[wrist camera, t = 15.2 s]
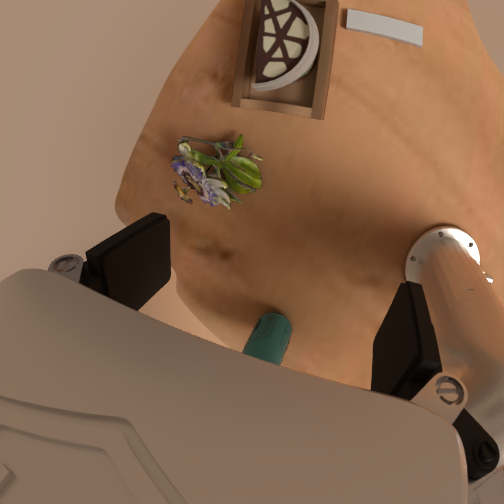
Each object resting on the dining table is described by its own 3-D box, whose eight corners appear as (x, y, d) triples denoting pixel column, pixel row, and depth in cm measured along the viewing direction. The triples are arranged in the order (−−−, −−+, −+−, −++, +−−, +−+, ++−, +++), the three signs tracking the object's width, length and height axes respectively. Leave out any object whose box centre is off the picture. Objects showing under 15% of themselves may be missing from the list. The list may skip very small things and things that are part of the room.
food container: (322, 101, 32) (311, 94, 24) (275, 96, 34) (250, 89, 26) (328, 17, 27) (319, -13, 18) (282, 14, 28) (258, -13, 20)
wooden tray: (338, 4, 26) (336, -6, 23) (323, 119, 34) (320, 119, 31) (256, -2, 28) (247, -11, 25) (241, 107, 37) (231, 106, 34)
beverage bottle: (264, 301, 50) (216, 388, 33) (300, 314, 49) (265, 408, 32) (256, 326, 53) (211, 410, 37) (289, 339, 52) (255, 428, 35)
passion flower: (224, 172, 48) (156, 173, 41) (249, 119, 41) (174, 110, 34) (253, 221, 43) (177, 228, 36) (288, 164, 36) (202, 159, 29)
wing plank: (420, 30, 24) (423, 27, 23) (419, 48, 25) (422, 45, 24) (348, 12, 26) (347, 8, 25) (346, 30, 28) (346, 27, 27)
